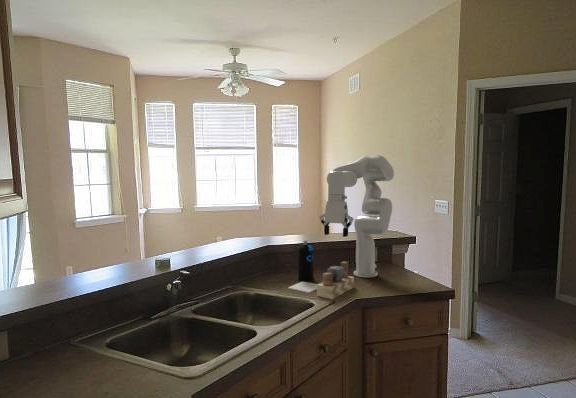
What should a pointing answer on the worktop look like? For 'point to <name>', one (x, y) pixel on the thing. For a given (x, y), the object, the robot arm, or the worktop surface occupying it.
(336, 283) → the cream pegged block
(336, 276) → the lever cap
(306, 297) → the worktop surface
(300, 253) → the aerosol can
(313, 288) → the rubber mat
